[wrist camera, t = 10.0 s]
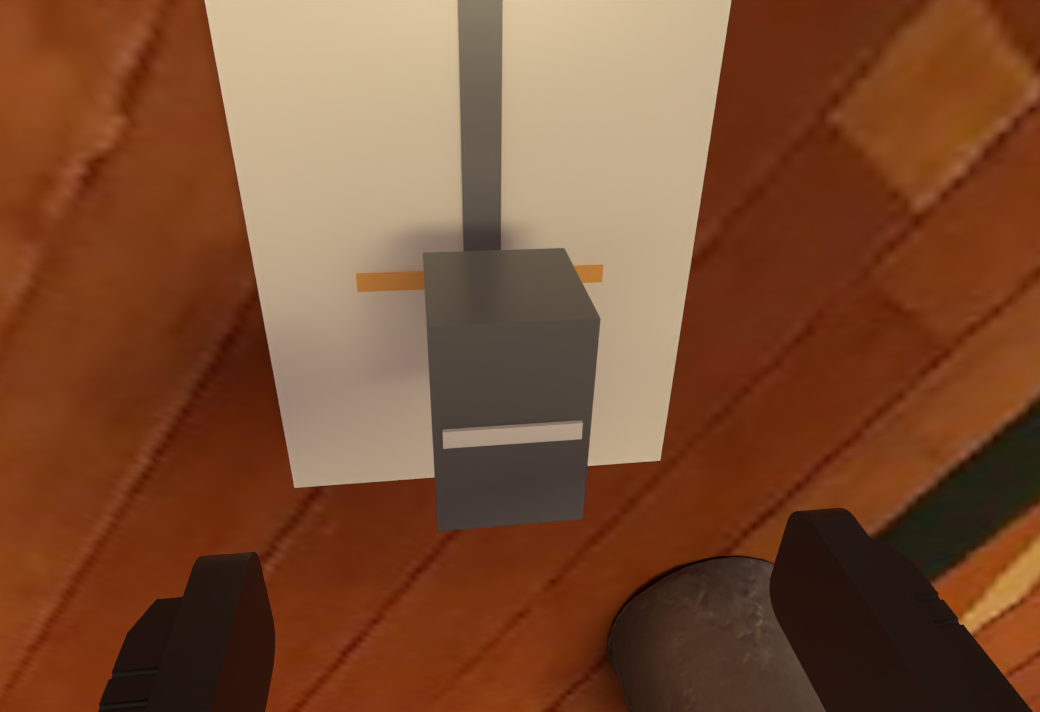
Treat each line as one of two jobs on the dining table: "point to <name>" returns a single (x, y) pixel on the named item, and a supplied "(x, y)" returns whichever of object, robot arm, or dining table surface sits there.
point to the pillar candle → (708, 644)
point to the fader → (509, 385)
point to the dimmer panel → (461, 194)
